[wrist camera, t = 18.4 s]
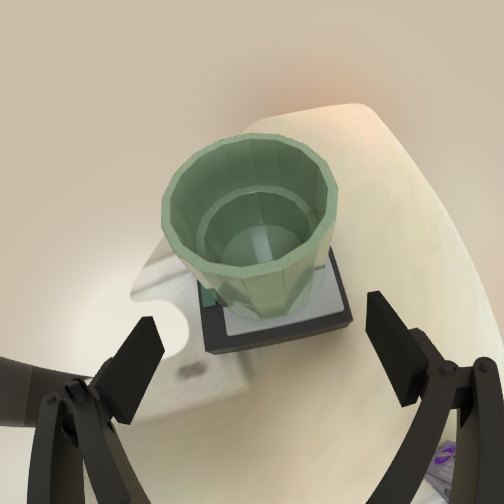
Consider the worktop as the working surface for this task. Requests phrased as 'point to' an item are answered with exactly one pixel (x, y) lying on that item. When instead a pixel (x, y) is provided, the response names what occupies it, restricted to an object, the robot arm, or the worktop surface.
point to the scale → (280, 330)
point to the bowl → (253, 222)
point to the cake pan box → (442, 469)
